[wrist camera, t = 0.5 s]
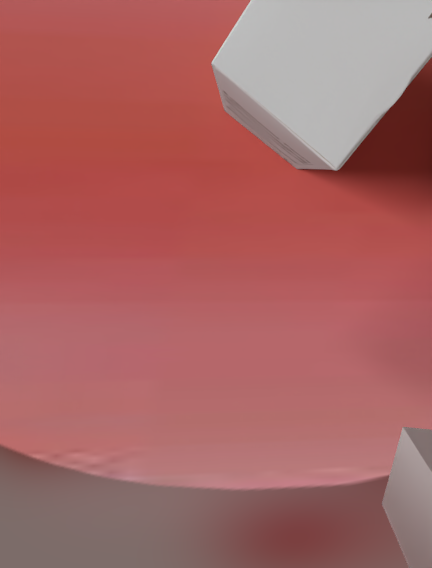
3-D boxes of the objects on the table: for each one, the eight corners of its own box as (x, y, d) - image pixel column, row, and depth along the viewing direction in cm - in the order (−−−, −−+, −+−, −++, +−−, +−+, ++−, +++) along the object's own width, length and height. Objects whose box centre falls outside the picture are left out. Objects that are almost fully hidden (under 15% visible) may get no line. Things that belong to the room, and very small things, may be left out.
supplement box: (286, 12, 30) (329, -131, 16) (367, 84, 31) (475, 11, 17) (219, 109, 33) (204, 61, 18) (297, 172, 34) (339, 174, 19)
